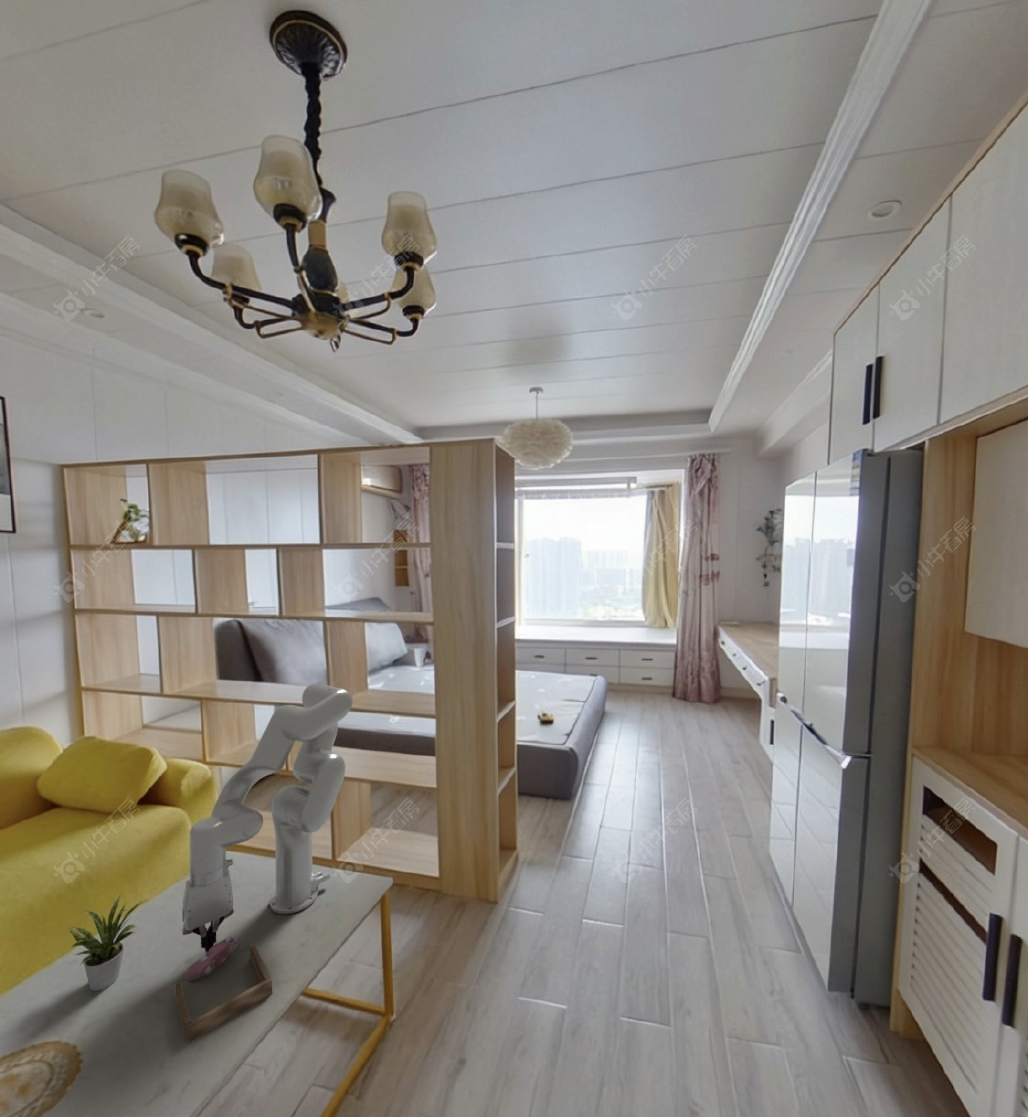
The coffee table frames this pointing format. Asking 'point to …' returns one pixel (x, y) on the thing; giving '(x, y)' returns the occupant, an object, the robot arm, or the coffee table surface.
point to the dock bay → (227, 1008)
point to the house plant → (103, 947)
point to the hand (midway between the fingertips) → (208, 947)
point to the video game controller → (212, 958)
